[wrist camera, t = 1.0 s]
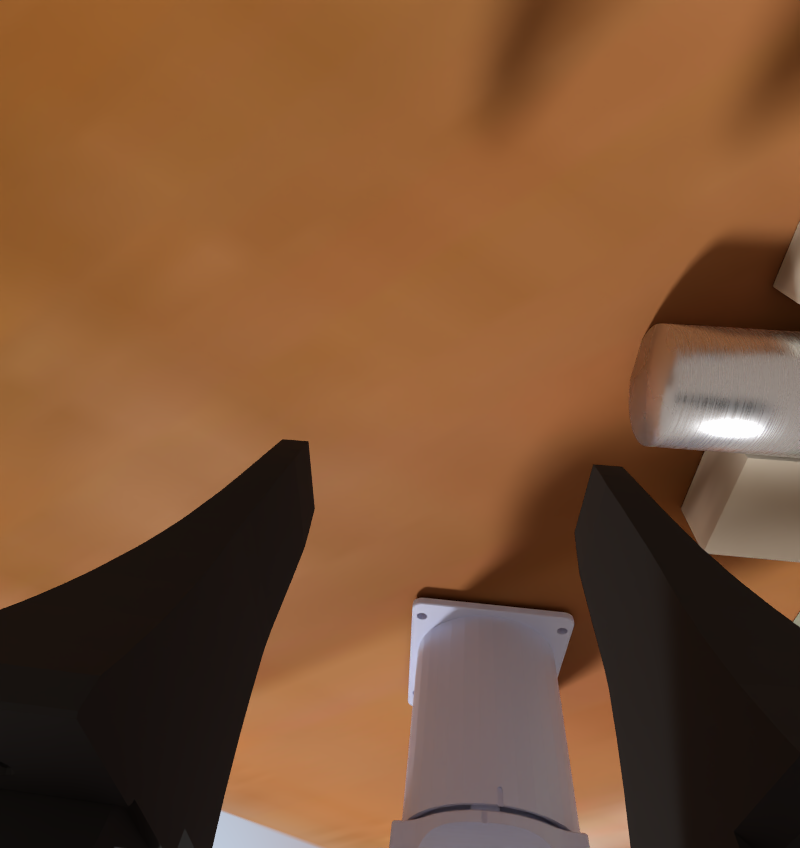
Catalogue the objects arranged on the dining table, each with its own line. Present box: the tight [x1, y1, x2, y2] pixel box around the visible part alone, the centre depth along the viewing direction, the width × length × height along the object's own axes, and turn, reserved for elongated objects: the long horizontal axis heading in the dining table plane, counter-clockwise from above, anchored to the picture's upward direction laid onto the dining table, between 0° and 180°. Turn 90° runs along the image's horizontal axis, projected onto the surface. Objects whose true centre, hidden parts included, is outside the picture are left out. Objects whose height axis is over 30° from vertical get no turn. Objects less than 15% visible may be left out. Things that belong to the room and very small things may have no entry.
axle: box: [629, 323, 800, 458], centre depth 17 cm, size 4×9×4 cm, turn 89°
